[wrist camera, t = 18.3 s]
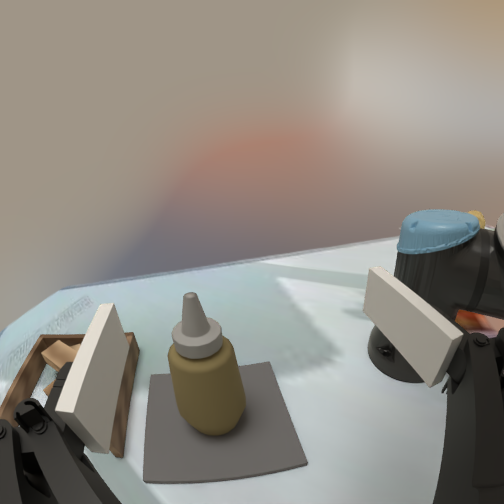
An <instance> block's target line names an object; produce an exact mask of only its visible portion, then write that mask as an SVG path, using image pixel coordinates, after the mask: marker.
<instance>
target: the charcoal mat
mask: <svg viewBox="0 0 504 504" xmlns="http://www.w3.org/2000/svg"><path fill="white" fill-rule="evenodd" d="M238 368H239V372H240V376H241V380H242V384H243V388H244V391H245V395H246V407H245V409H244V411H243V413H242V415H241V417H240V419H239V421H238V422H237V424H236V426H235V428H233V429H232V430H231V431H229V432H228V433H225V434H222V435H219V436H213V435H206V434H204V433H201V432H199V431H198V430H197V429H195V428H194V427H193V426H192V425H190V424H189V423H188V422H187V421H186V420H185V419H184V418H183V417H182V416H181V415H180V413H179V410H178V407H177V403H176V399H175V394H174V389H173V383H172V378H171V374H155V375H151V377H150V386H149V395H148V405H147V416H146V428H145V443H144V465H143V481H144V482H145V483H164V484H177V483H203V482H216V481H226V480H234V479H242V478H248V477H255V476H260V475H266V474H271V473H276V472H281V471H285V470H289V469H293V468H297V467H301V466H305V465H307V463H308V462H307V459H306V457H305V454H304V452H303V449H302V447H301V444H300V442H299V439H298V436H297V434H296V431H295V429H294V426H293V423H292V421H291V418H290V415H289V413H288V410H287V408H286V405H285V402H284V400H283V397H282V394H281V391H280V389H279V386H278V383H277V381H276V378H275V375H274V373H273V370H272V367H271V364H270V362H263V363H257V364H251V365H245V366H238Z"/></svg>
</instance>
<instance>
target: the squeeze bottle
mask: <svg viewBox="0 0 504 504" xmlns="http://www.w3.org/2000/svg"><path fill="white" fill-rule="evenodd" d="M172 338H173V342H174V343H173V345H172V346H171V347H170V349H169V352H168V361H169V367H170V372H171V378H172V383H173V389H174V394H175V399H176V403H177V407H178V410H179V413H180V415H181V416H182V417H183V418H184V419H185V420H186V421H187V422H188V423H189V424H190V425H192V426H193V427H194V428H195V429H197V430H198V431H199V432H201V433H204V434H206V435H213V436H219V435H222V434H225V433H228V432H229V431H231V430H232V429H233V428H235V426H236V424H237V422H238V421H239V419H240V417H241V415H242V413H243V411H244V409H245V407H246V395H245V391H244V388H243V384H242V380H241V376H240V372H239V368H238V364H237V360H236V356H235V352H234V348H233V346H232V344H231V342H230V341H229V339H227V338H225V337H224V336H222V330H221V326H220V325H219V323H218V322H217V321H215V320H213V319H212V318H207V317H206V316H205V313H204V311H203V309H202V306H201V304H200V301H199V299H198V296H197V294H196V293H193V292H190V293H186V294H185V295H184V296H183V311H182V321H181V322H179V323H178V324H177V325H176V326H175V327H174V328H173V331H172Z"/></svg>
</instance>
